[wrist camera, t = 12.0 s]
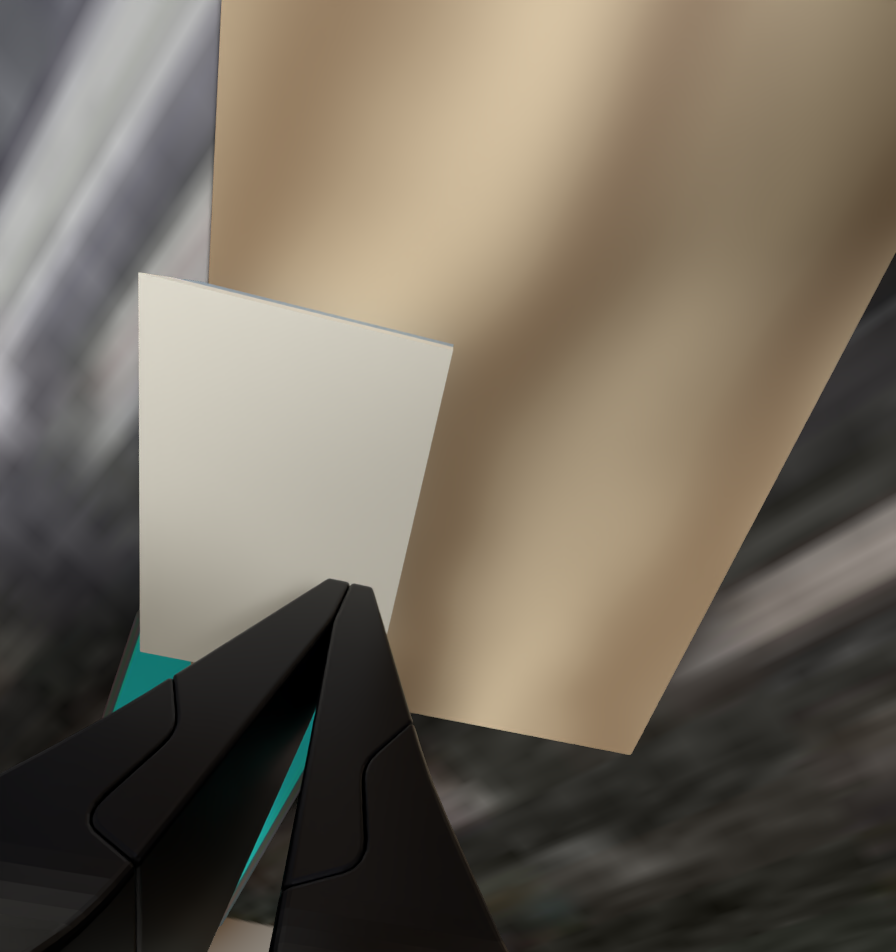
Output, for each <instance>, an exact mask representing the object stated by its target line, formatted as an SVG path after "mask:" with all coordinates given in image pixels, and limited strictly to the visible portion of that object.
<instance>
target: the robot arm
mask: <svg viewBox="0 0 896 952" xmlns="http://www.w3.org/2000/svg"><path fill="white" fill-rule="evenodd" d="M315 709H316V710H315ZM314 712H315V715H314V721H313V726H312V731H311V736H310V741H309V746H308V752H307V757H306V762H305V767H304V772H303V778H302V783H301V788H300V793H299V798H298V803H297V809H296V814H295V819H294V824H293V829H292V835H291V840H290V845H289V850H288V855H287V860H286V866H285V871H284V876H283V881H282V886H281V892H280V898H279V902H278V907H277V912H276V917H275V922H274V928H273V933H272V938H271V943H270V948H269V952H508V950H507V948H506V946H505V944H504V942H503V940H502V938H501V936H500V934H499V932H498V930H497V927H496V925H495V923H494V921H493V919H492V916H491V914H490V912H489V910H488V907H487V905H486V903H485V901H484V898H483V896H482V894H481V892H480V890H479V887H478V885H477V883H476V881H475V878H474V876H473V874H472V872H471V869H470V867H469V865H468V863H467V860H466V858H465V856H464V854H463V851H462V849H461V847H460V845H459V842H458V840H457V838H456V836H455V833H454V831H453V829H452V827H451V825H450V822H449V820H448V818H447V815H446V813H445V811H444V808H443V806H442V803H441V801H440V798H439V796H438V794H437V791H436V789H435V786H434V784H433V782H432V779H431V776H430V773H429V770H428V767H427V764H426V761H425V758H424V755H423V752H422V749H421V746H420V743H419V740H418V736H417V733H416V730H415V727H414V725H412V724H413V721H412V717H411V714H410V711H409V707H408V704H407V701H406V697H405V694H404V691H403V687H402V684H401V681H400V677H399V674H398V671H397V667H396V664H395V661H394V657H393V654H392V651H391V647H390V644H389V641H388V637H387V634H386V631H385V627H384V624H383V621H382V617H381V614H380V611H379V607H378V604H377V601H376V597H375V594H374V591H373V589H372V588H371V587H369V586H364V585H360V584H355V583H353V584H351V585H349V583H348V582H345V581H341V580H336V579H331V578H329V579H326V580H325V581H323V582H322V583H320V584H318V585H317V586H315V587H314V588H312V589H310V590H309V591H307V592H306V593H304V594H302V595H301V596H299V597H298V598H296V599H294V600H293V601H291V602H290V603H288V604H287V605H285V606H283V607H282V608H280V609H279V610H277V611H275V612H274V613H272V614H271V615H269V616H267V617H266V618H264V619H263V620H261V621H259V622H258V623H256V624H255V625H253V626H251V627H250V628H248V629H247V630H245V631H244V632H242V633H240V634H239V635H237V636H236V637H234V638H232V639H231V640H229V641H228V642H226V643H224V644H223V645H221V646H220V647H218V648H216V649H215V650H213V651H212V652H210V653H209V654H207V655H205V656H204V657H202V658H201V659H199V660H197V661H196V662H194V663H193V664H191V665H189V666H188V667H186V668H185V669H183V670H181V671H180V672H178V673H177V674H175V675H174V676H173V679H171V678H169V679H167V680H165V681H164V682H162V683H160V684H159V685H157V686H156V687H154V688H152V689H151V690H149V691H148V692H146V693H144V694H143V695H141V696H139V697H138V698H136V699H134V700H133V701H131V702H129V703H128V704H126V705H124V706H123V707H121V708H119V709H118V710H116V711H114V712H113V713H111V714H109V715H108V716H106V717H104V718H103V719H101V720H99V721H97V722H95V723H94V724H92V725H90V726H88V727H86V728H84V729H83V730H81V731H79V732H77V733H75V734H73V735H72V736H70V737H68V738H66V739H64V740H62V741H61V742H59V743H57V744H55V745H53V746H52V747H50V748H48V749H46V750H44V751H42V752H40V753H38V754H36V755H34V756H33V757H31V758H29V759H27V760H25V761H23V762H21V763H19V764H17V765H15V766H14V767H12V768H10V769H8V770H6V771H4V772H2V773H0V952H207V951H208V949H209V947H210V945H211V943H212V940H213V938H214V936H215V933H216V931H217V929H218V927H219V925H220V922H221V920H222V918H223V916H224V913H225V911H226V909H227V907H228V905H229V902H230V900H231V898H232V896H233V893H234V891H235V889H236V887H237V884H238V882H239V880H240V878H241V876H242V873H243V871H244V869H245V867H246V864H247V862H248V860H249V858H250V855H251V853H252V851H253V849H254V846H255V844H256V842H257V840H258V838H259V835H260V833H261V831H262V829H263V826H264V824H265V822H266V820H267V817H268V815H269V813H270V811H271V808H272V806H273V804H274V802H275V800H276V797H277V795H278V793H279V791H280V788H281V786H282V784H283V782H284V779H285V777H286V775H287V773H288V770H289V768H290V766H291V764H292V762H293V759H294V757H295V755H296V753H297V750H298V748H299V746H300V744H301V741H302V739H303V737H304V735H305V733H306V730H307V728H308V726H309V724H310V721H311V719H312V717H313V714H314Z"/></svg>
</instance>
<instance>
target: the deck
mask: <svg viewBox="0 0 896 952" xmlns="http://www.w3.org/2000/svg"><path fill="white" fill-rule="evenodd" d="M453 345H454V344H450V343H446V342H442V341H438V340H434V339H430V338H426V337H422V336H418V335H414V334H410V333H406V332H402V331H398V330H394V329H390V328H386V327H382V326H378V325H374V324H369V323H365V322H361V321H357V320H353V319H349V318H345V317H341V316H337V315H333V314H329V313H325V312H321V311H317V310H313V309H309V308H305V307H301V306H297V305H293V304H289V303H285V302H281V301H277V300H273V299H269V298H265V297H261V296H257V295H253V294H249V293H245V292H241V291H237V290H233V289H229V288H225V287H221V286H217V285H213V284H209V283H205V282H199V281H192V280H186V279H179V278H172V277H166V276H159V275H152V274H146V273H139V517H140V652H145V653H150V654H155V655H160V656H165V657H170V658H176V659H181V660H186V661H191V662H196V661H197V660H199V659H201V658H202V657H204V656H205V655H207V654H209V653H210V652H212V651H213V650H215V649H216V648H218V647H220V646H221V645H223V644H224V643H226V642H228V641H229V640H231V639H232V638H234V637H236V636H237V635H239V634H240V633H242V632H244V631H245V630H247V629H248V628H250V627H251V626H253V625H255V624H256V623H258V622H259V621H261V620H263V619H264V618H266V617H267V616H269V615H271V614H272V613H274V612H275V611H277V610H279V609H280V608H282V607H283V606H285V605H287V604H288V603H290V602H291V601H293V600H294V599H296V598H298V597H299V596H301V595H302V594H304V593H306V592H307V591H309V590H310V589H312V588H314V587H315V586H317V585H318V584H320V583H322V582H323V581H325V580H326V579H329V578H331V579H336V580H341V581H345V582H348V583H349V585H351V584H353V583H355V584H360V585H364V586H369V587H371V588H372V589H373V591H374V594H375V597H376V601H377V604H378V607H379V611H380V614H381V617H382V621H383V624H384V627H385V631H386V634H387V632H388V628H389V624H390V619H391V615H392V611H393V607H394V602H395V598H396V594H397V589H398V585H399V581H400V576H401V572H402V568H403V564H404V559H405V555H406V551H407V546H408V542H409V538H410V533H411V529H412V525H413V521H414V516H415V512H416V508H417V503H418V499H419V495H420V490H421V486H422V482H423V478H424V473H425V469H426V465H427V460H428V456H429V452H430V447H431V443H432V439H433V435H434V430H435V426H436V422H437V417H438V413H439V409H440V404H441V400H442V396H443V392H444V387H445V383H446V379H447V374H448V370H449V366H450V361H451V357H452V353H453Z"/></svg>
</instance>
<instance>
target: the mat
mask: <svg viewBox="0 0 896 952" xmlns="http://www.w3.org/2000/svg"><path fill="white" fill-rule="evenodd" d="M895 253H896V0H222V4H221V25H220V47H219V68H218V90H217V111H216V133H215V154H214V175H213V197H212V218H211V240H210V261H209V284H213V285H217V286H221V287H225V288H229V289H233V290H237V291H241V292H245V293H249V294H253V295H257V296H261V297H265V298H269V299H273V300H277V301H281V302H285V303H289V304H293V305H297V306H301V307H305V308H309V309H313V310H317V311H321V312H325V313H329V314H333V315H337V316H341V317H345V318H349V319H353V320H357V321H361V322H365V323H369V324H374V325H378V326H382V327H386V328H390V329H394V330H398V331H402V332H406V333H410V334H414V335H418V336H422V337H426V338H430V339H434V340H438V341H442V342H446V343H450V344H454V345H453V353H452V357H451V361H450V366H449V370H448V374H447V379H446V383H445V387H444V392H443V396H442V400H441V404H440V409H439V413H438V417H437V422H436V426H435V430H434V435H433V439H432V443H431V447H430V452H429V456H428V460H427V465H426V469H425V473H424V478H423V482H422V486H421V490H420V495H419V499H418V503H417V508H416V512H415V516H414V521H413V525H412V529H411V533H410V538H409V542H408V546H407V551H406V555H405V559H404V564H403V568H402V572H401V576H400V581H399V585H398V589H397V594H396V598H395V602H394V607H393V611H392V615H391V619H390V624H389V628H388V632H387V637H388V641H389V644H390V647H391V651H392V654H393V657H394V661H395V664H396V667H397V671H398V674H399V677H400V681H401V684H402V687H403V691H404V694H405V697H406V701H407V704H408V707H409V711H410V712H411V713H416V714H421V715H426V716H431V717H436V718H442V719H447V720H452V721H457V722H462V723H468V724H473V725H478V726H483V727H488V728H494V729H499V730H504V731H509V732H514V733H519V734H525V735H530V736H535V737H540V738H545V739H551V740H556V741H561V742H566V743H571V744H576V745H582V746H587V747H592V748H597V749H602V750H608V751H613V752H618V753H623V754H628V755H631V753H632V752H633V750H634V748H635V746H636V744H637V742H638V740H639V738H640V736H641V735H642V733H643V731H644V729H645V727H646V725H647V723H648V721H649V719H650V717H651V716H652V714H653V712H654V710H655V708H656V706H657V704H658V702H659V700H660V698H661V697H662V695H663V693H664V691H665V689H666V687H667V685H668V683H669V681H670V679H671V678H672V676H673V674H674V672H675V670H676V668H677V666H678V664H679V662H680V661H681V659H682V657H683V655H684V653H685V651H686V649H687V647H688V645H689V643H690V642H691V640H692V638H693V636H694V634H695V632H696V630H697V628H698V626H699V624H700V623H701V621H702V619H703V617H704V615H705V613H706V611H707V609H708V607H709V605H710V604H711V602H712V600H713V598H714V596H715V594H716V592H717V590H718V588H719V587H720V585H721V583H722V581H723V579H724V577H725V575H726V573H727V571H728V569H729V568H730V566H731V564H732V562H733V560H734V558H735V556H736V554H737V552H738V550H739V549H740V547H741V545H742V543H743V541H744V539H745V537H746V535H747V533H748V531H749V530H750V528H751V526H752V524H753V522H754V520H755V518H756V516H757V514H758V513H759V511H760V509H761V507H762V505H763V503H764V501H765V499H766V497H767V495H768V494H769V492H770V490H771V488H772V486H773V484H774V482H775V480H776V478H777V476H778V475H779V473H780V471H781V469H782V467H783V465H784V463H785V461H786V459H787V457H788V456H789V454H790V452H791V450H792V448H793V446H794V444H795V442H796V440H797V439H798V437H799V435H800V433H801V431H802V429H803V427H804V425H805V423H806V421H807V420H808V418H809V416H810V414H811V412H812V410H813V408H814V406H815V404H816V402H817V401H818V399H819V397H820V395H821V393H822V391H823V389H824V387H825V385H826V383H827V382H828V380H829V378H830V376H831V374H832V372H833V370H834V368H835V366H836V365H837V363H838V361H839V359H840V357H841V355H842V353H843V351H844V349H845V347H846V346H847V344H848V342H849V340H850V338H851V336H852V334H853V332H854V330H855V328H856V327H857V325H858V323H859V321H860V319H861V317H862V315H863V313H864V311H865V309H866V308H867V306H868V304H869V302H870V300H871V298H872V296H873V294H874V292H875V291H876V289H877V287H878V285H879V283H880V281H881V279H882V277H883V275H884V273H885V272H886V270H887V268H888V266H889V264H890V262H891V260H892V258H893V256H894V254H895ZM193 663H194V662H191V664H193Z"/></svg>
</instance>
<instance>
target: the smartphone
mask: <svg viewBox="0 0 896 952" xmlns="http://www.w3.org/2000/svg"><path fill="white" fill-rule="evenodd" d="M189 665H191V661H186V660H181V659H176V658H170V657H165V656H160V655H155V654H150V653H145V652H140V610H138V611H137V613H136V616H135V619H134V622H133V625H132V628H131V631H130V634H129V637H128V640H127V643H126V646H125V649H124V652H123V655H122V658H121V661H120V664H119V667H118V670H117V673H116V676H115V679H114V682H113V685H112V688H111V691H110V694H109V697H108V700H107V703H106V706H105V709H104V712H103V715H102V718H101V719H103V718H104V717H106V716H108V715H109V714H111V713H113V712H114V711H116V710H118V709H119V708H121V707H123V706H124V705H126V704H128V703H129V702H131V701H133V700H134V699H136V698H138V697H139V696H141V695H143V694H144V693H146V692H148V691H149V690H151V689H152V688H154V687H156V686H157V685H159V684H160V683H162V682H164V681H165V680H167V679H169V678H171V679H173V676H174V675H175V674H177V673H178V672H180V671H181V670H183V669H185V668H186V667H188V666H189ZM315 710H316V709H315ZM314 715H315V712H314V714H313V717H312V719H311V721H310V724H309V726H308V728H307V730H306V733H305V735H304V737H303V739H302V741H301V744H300V746H299V748H298V750H297V753H296V755H295V757H294V759H293V762H292V764H291V766H290V768H289V770H288V773H287V775H286V777H285V779H284V782H283V784H282V786H281V788H280V791H279V793H278V795H277V797H276V800H275V802H274V804H273V806H272V808H271V811H270V813H269V815H268V817H267V820H266V822H265V824H264V826H263V829H262V831H261V833H260V835H259V838H258V840H257V842H256V844H255V846H254V849H253V851H252V853H251V855H250V858H249V860H248V862H247V864H246V867H245V869H244V871H243V873H242V876H241V878H240V880H239V882H238V884H237V887H236V889H235V891H234V893H233V896H232V898H231V900H230V902H229V905H228V907H227V909H226V911H225V913H224V916H223V918H222V920H221V922H220V925H219V926H221V925H222V924H223V922H224V920H225V919H226V917H227V915H228V913H229V912H230V910H231V908H232V907H233V905H234V903H235V901H236V900H237V898H238V896H239V895H240V893H241V891H242V889H243V888H244V886H245V884H246V883H247V881H248V879H249V877H250V876H251V874H252V872H253V871H254V869H255V867H256V865H257V864H258V862H259V860H260V859H261V857H262V855H263V853H264V852H265V850H266V848H267V847H268V845H269V843H270V842H271V840H272V838H273V836H274V835H275V833H276V831H277V830H278V828H279V826H280V824H281V823H282V821H283V819H284V818H285V816H286V814H287V812H288V811H289V809H290V807H291V806H292V804H293V802H294V800H295V799H296V797H297V795H298V794H299V792H300V788H301V783H302V778H303V772H304V767H305V762H306V757H307V752H308V746H309V741H310V736H311V731H312V726H313V721H314Z"/></svg>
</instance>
